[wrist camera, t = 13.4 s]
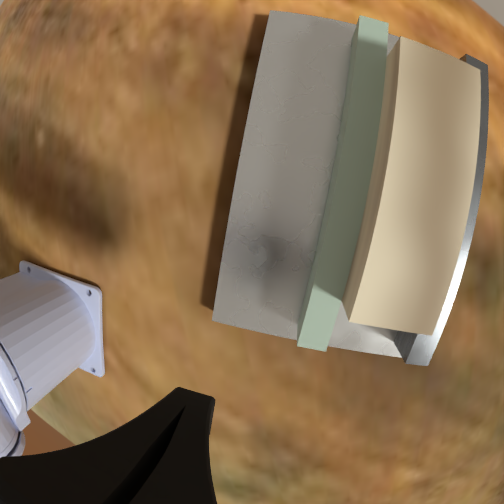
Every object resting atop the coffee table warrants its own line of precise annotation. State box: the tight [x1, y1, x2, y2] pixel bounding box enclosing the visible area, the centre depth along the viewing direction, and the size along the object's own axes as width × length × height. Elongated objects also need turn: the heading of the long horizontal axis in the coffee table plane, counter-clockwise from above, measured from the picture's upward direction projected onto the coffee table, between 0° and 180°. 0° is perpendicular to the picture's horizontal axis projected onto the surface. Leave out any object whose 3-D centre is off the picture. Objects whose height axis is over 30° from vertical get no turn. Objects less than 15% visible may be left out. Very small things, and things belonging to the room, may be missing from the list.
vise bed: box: [212, 10, 489, 366], centre depth 14 cm, size 13×19×4 cm
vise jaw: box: [297, 15, 388, 351], centre depth 14 cm, size 2×17×2 cm, turn 170°
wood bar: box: [342, 36, 481, 336], centre depth 12 cm, size 4×12×5 cm, turn 170°
